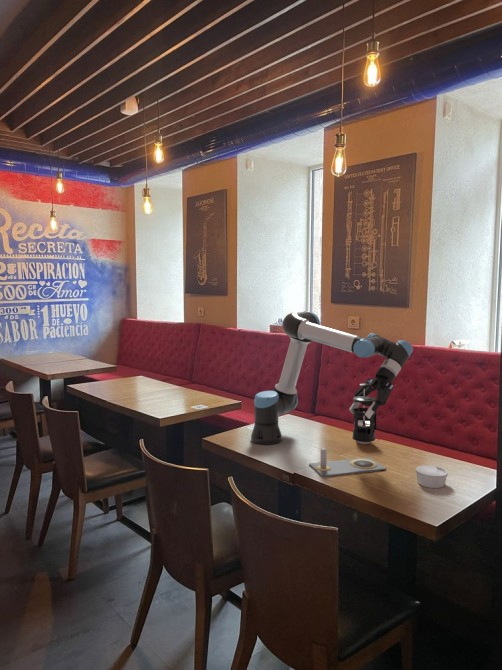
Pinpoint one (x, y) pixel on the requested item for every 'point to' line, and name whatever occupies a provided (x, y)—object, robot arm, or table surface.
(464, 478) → the table surface
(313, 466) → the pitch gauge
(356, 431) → the french press
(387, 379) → the robot arm
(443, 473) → the ramekin
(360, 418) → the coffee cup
